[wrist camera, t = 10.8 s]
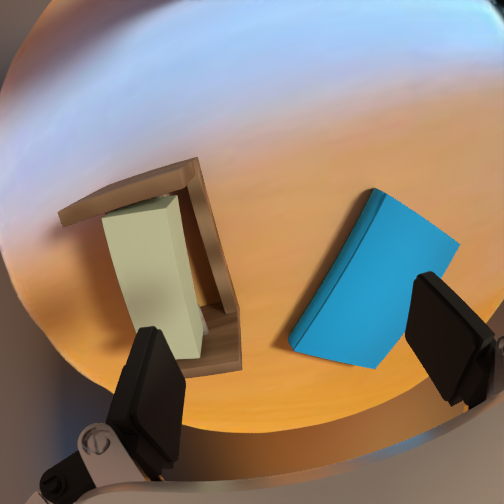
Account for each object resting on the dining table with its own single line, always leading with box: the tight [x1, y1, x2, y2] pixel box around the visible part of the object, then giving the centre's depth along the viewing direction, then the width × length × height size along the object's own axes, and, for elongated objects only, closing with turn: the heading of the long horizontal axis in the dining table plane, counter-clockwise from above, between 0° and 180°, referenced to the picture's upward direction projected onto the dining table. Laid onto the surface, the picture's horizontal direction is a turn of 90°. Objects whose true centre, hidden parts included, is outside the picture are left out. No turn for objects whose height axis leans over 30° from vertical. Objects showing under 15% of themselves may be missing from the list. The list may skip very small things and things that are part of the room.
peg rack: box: [58, 157, 242, 378], centre depth 31 cm, size 21×12×12 cm, turn 12°
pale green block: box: [101, 195, 203, 359], centre depth 28 cm, size 16×6×5 cm, turn 5°
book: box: [288, 188, 460, 369], centre depth 39 cm, size 17×4×25 cm
